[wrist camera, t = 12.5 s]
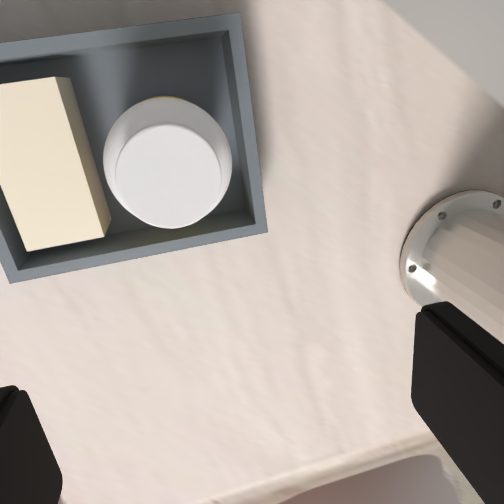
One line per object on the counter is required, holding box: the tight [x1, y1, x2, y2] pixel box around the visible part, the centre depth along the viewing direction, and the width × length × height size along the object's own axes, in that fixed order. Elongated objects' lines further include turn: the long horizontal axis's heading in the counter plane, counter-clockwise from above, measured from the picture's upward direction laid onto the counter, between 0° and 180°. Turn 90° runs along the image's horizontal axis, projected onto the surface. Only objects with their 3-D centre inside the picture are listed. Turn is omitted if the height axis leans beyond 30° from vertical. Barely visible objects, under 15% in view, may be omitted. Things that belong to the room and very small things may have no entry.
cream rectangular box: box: [0, 77, 111, 252], centre depth 26 cm, size 5×10×4 cm, turn 8°
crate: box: [0, 12, 268, 284], centre depth 28 cm, size 18×14×5 cm
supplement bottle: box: [103, 96, 232, 229], centre depth 23 cm, size 7×7×13 cm
